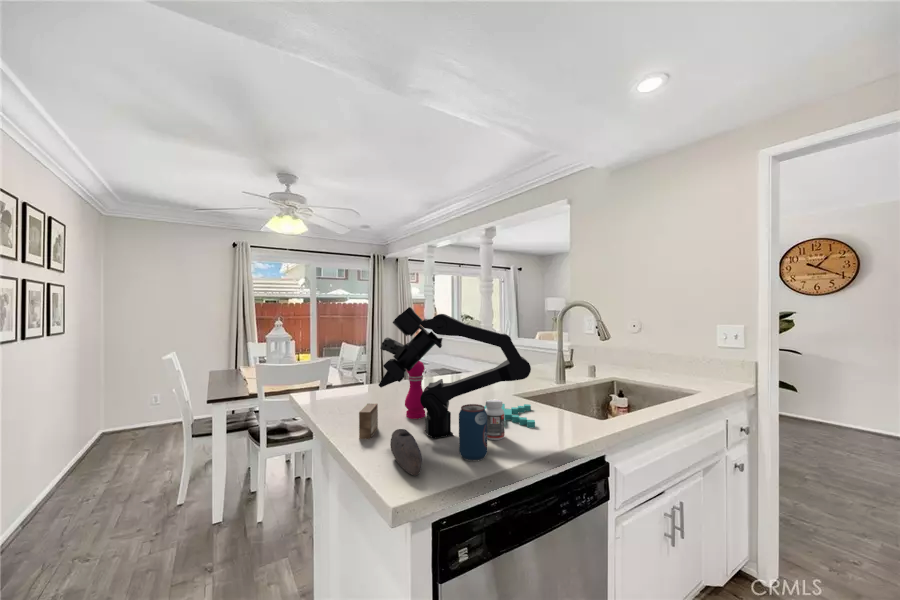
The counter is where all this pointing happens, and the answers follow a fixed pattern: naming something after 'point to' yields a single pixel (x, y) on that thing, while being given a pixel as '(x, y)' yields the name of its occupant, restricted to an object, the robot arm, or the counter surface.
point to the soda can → (473, 432)
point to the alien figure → (516, 418)
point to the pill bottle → (495, 419)
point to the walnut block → (368, 421)
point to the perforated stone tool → (406, 451)
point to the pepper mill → (415, 392)
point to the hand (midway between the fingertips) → (379, 386)
